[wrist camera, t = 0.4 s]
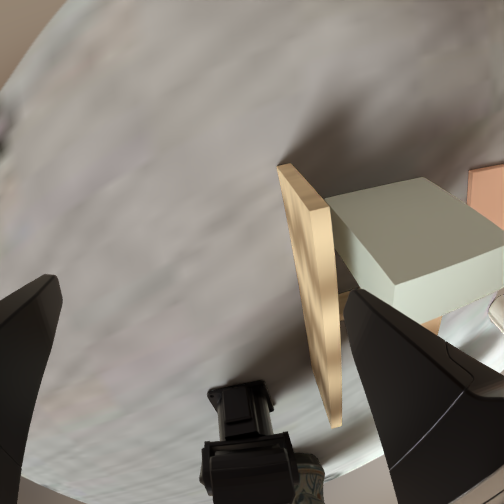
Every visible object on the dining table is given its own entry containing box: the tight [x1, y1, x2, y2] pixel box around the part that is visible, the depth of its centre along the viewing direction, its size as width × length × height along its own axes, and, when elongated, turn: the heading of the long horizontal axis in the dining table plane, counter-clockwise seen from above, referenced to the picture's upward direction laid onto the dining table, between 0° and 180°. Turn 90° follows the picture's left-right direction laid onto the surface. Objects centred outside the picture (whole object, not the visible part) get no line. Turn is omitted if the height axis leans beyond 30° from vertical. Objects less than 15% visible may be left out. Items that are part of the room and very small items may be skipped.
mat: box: [467, 164, 504, 231], centre depth 26 cm, size 13×12×1 cm
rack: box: [277, 163, 361, 429], centre depth 24 cm, size 22×14×8 cm, turn 13°
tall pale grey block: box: [324, 177, 504, 324], centre depth 20 cm, size 4×9×11 cm, turn 103°
